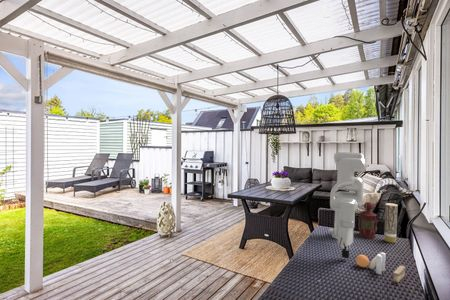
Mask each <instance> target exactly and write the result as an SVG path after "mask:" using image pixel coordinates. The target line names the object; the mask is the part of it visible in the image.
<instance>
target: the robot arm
mask: <svg viewBox="0 0 450 300" xmlns="http://www.w3.org/2000/svg"><path fill="white" fill-rule="evenodd" d="M333 160H334V163H335V166H336V169H337V173H336V175H337V177H336V183H335V184H334V185H333V186H332V188H331V189H330V190H331V191H330V194H329V196H330V199H329V206H330V209H331V210H333V211H334V223H333V225H334V228H331V227H329V228H328V232H329V233H331V237H332V238H334V239H335V240H337V245H340V249H341V257H342V258H345V259H349V258H350V248H351V245H352V244H353V243H354V229H355V221H356V220H355V215H356V211H357V210H358V208H361V207H362V205H363V202H364V201H363V197H364V181H363V179H362V178H361V177H360V176H355V173H364V172H365V170H366V160H365V156H364V154H363V153H361V152H352V151H351V152H349V151H339V152H336V153H334V155H333ZM339 190H341V191H339Z"/></svg>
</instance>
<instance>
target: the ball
mask: <svg viewBox="0 0 450 300" xmlns="http://www.w3.org/2000/svg"><path fill="white" fill-rule="evenodd" d="M355 263H356V264H357V266H359V267H360V268H367V267H368V265H369V263H370V260H369V258H368V256H366V255H364V254H358V255H357V256H356V258H355Z"/></svg>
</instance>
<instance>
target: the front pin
mask: <svg viewBox="0 0 450 300" xmlns="http://www.w3.org/2000/svg"><path fill="white" fill-rule="evenodd" d="M377 255H380V253H377ZM377 255H375V257H373V259H372V260H371V261H369V265H368V266H367V267H368V268H369V269H371V270H372V269H374V267H376V257H377ZM381 256H382V255H381ZM382 258H383V256H382Z"/></svg>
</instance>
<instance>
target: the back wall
mask: <svg viewBox="0 0 450 300" xmlns="http://www.w3.org/2000/svg"><path fill="white" fill-rule="evenodd" d="M405 275H406V266H405V265H402V264H401V265H399V266H398V267H397V268H396V270H394V271H393V281H392V282H394V283H397V284H399V282H401V281H402V279H403V278H404V277H405Z"/></svg>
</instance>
